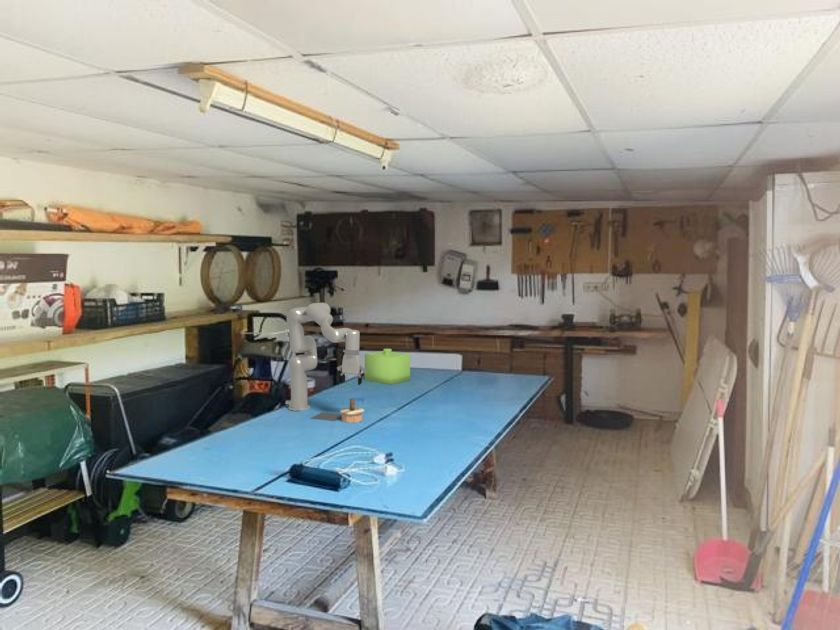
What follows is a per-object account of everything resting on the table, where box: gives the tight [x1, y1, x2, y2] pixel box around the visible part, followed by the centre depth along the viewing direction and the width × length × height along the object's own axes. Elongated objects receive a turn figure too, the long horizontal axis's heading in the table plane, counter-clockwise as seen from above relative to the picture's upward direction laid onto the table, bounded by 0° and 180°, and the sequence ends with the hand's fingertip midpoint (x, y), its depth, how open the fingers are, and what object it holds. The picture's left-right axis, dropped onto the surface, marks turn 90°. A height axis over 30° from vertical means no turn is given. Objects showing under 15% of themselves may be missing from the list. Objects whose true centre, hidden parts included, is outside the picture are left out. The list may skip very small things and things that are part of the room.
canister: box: [364, 348, 411, 386], centre depth 474 cm, size 25×21×23 cm
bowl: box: [341, 413, 363, 424], centre depth 359 cm, size 11×11×5 cm
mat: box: [309, 412, 342, 422], centre depth 366 cm, size 15×15×1 cm
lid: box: [339, 398, 365, 415], centre depth 359 cm, size 13×13×7 cm
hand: (351, 383), depth 358 cm, fingers open, 9 cm apart
